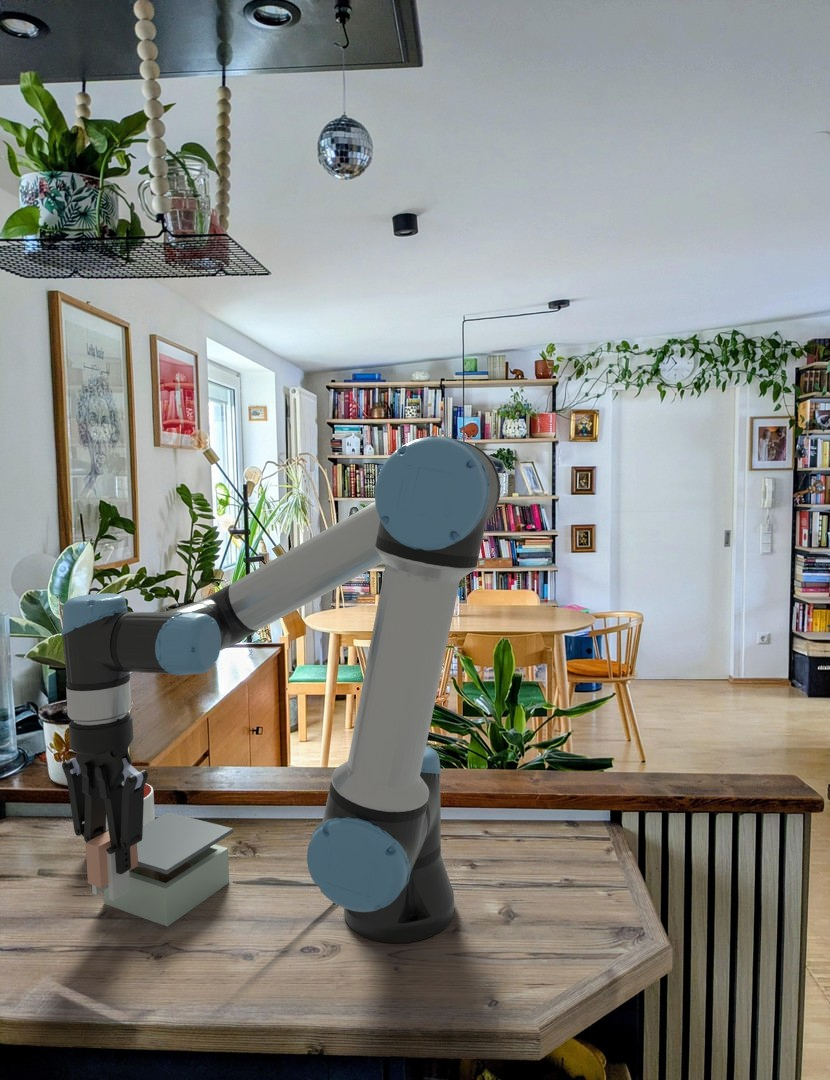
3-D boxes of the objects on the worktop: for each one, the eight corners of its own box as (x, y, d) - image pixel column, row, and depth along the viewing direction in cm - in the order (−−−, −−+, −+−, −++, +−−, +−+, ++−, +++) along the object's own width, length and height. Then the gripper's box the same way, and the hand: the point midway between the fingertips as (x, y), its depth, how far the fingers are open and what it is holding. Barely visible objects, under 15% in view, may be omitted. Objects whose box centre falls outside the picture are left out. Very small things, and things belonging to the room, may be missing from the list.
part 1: (175, 885, 110) (174, 858, 110) (154, 898, 106) (153, 871, 106) (155, 878, 112) (154, 852, 111) (134, 891, 108) (133, 865, 108)
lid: (233, 837, 110) (231, 796, 109) (130, 903, 93) (127, 855, 93) (168, 820, 116) (166, 781, 115) (61, 880, 99) (58, 834, 99)
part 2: (202, 893, 108) (200, 866, 107) (181, 907, 104) (180, 880, 104) (181, 886, 109) (179, 860, 109) (160, 900, 106) (158, 873, 106)
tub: (229, 887, 111) (228, 848, 110) (167, 932, 100) (165, 888, 99) (169, 868, 116) (167, 831, 116) (104, 908, 106) (102, 867, 105)
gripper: (167, 714, 96) (176, 891, 98) (84, 700, 104) (94, 865, 106) (119, 733, 90) (130, 922, 92) (34, 716, 97) (46, 892, 99)
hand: (111, 891), depth 99 cm, fingers closed on lid, 2 cm apart
